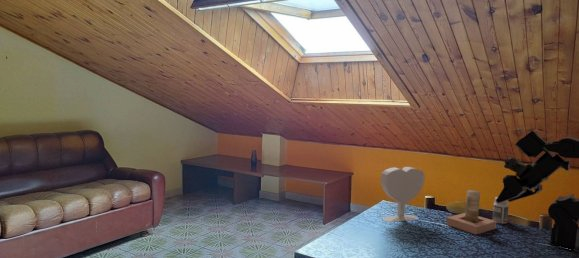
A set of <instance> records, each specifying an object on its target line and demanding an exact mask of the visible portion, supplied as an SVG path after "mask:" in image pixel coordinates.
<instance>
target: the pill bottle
mask: <svg viewBox="0 0 579 258" xmlns="http://www.w3.org/2000/svg"><path fill="white" fill-rule="evenodd" d="M497 198H498V196H495V197H494V202H493V207H492V219H491V220H494V221H496V224H507V223H508V218H509V204H508V202H509V201H508V200H506V201H503V202H500V203H498V202H497V201H496V199H497Z"/></svg>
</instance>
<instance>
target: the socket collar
mask: <svg viewBox="0 0 579 258" xmlns="http://www.w3.org/2000/svg"><path fill="white" fill-rule="evenodd" d="M446 225H447V226H450V227H452V228H456V229H459V230H462V231H465V232H468V233H471V234H474V235H480V234H483V233H486V232H489V231H492V230H495V229H497V223H496V221H494V220H492V219H489V218H486V217H483V216H479V215H478V222H477V223H472V222H468V221H465V213H462V214H455V215H452V216H447V217H446Z"/></svg>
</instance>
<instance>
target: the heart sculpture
mask: <svg viewBox="0 0 579 258" xmlns="http://www.w3.org/2000/svg"><path fill="white" fill-rule="evenodd" d="M425 177H426V176H425V173H424V171H423V170H422V169H421V170H420V169H419V168H415V167H412V166H404V167H402V168H398V167H394V166H393V167H389V168H387V169H384V170H383V171H382V172H381V174H380V185H381V188H382V190H383V192H384V193H385V194H386V196H388V197H389V198H390V199H392V200H394V201H395V202H397V215H391V216H384V217H383V218H382V220H383V221H386V222H389V223H394V222H403V221H413V220H414V221H415V220H419V217H418V216H416V215H412V214H405V207H406V205H407V204H408V203H409V202H411V201H412V200H413V199H415V198H416V197H417V195H419V194H420V192H421V191H422V189H423V188H424V183H425Z"/></svg>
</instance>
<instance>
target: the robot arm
mask: <svg viewBox="0 0 579 258" xmlns="http://www.w3.org/2000/svg"><path fill="white" fill-rule="evenodd" d="M514 146H515V147H517V149H519V150H520V151H521V152H522V153H523V154H524V155H525V156H527V157H528V158H533V159H536V158H537V157H538V156H539V155H541V156H540V157H538V158H537V159H536V160H535V161H534V162H532V163H528V164H525V163H523V162H521V161H520V160H518V159H517V158H514V157H507V158H506V160H504V165H503V168H505V169H508V170H510V171H512V172H514V173H515V174H514V175H513V174H506V175H505V176H504V177H503V178H502V183H503V188H502V190H501V191H500V193H499V195H498V196H497V197H498V198H497V199H496V201H497V202H498V203H500V202H503V201H506V200H508V202H514V201H517V200H520V199H524V198H528V197H530V196H535V195H537V194H539V193H540V192H542V191H543V185H542V183H543V182H544V181H548V180H549V179H550V178H549V177H550V176H552V175H553V174H554V173H555V172H557V171H558V170H559V169H560V168H563V169H564V170H565V171H569V170H570V168H571V167H570V163H571V160H570V159H579V138H577V137H574V136H565V137H563V138H561V139H559V140H558V141H557V140H555V141H548V142H547V140H545V139H544V138H542V137H541V136H540V135H539V133H537V131H535V130H531V131H530V132H529V133H527V134H526V135H524V136H522V137H521V138H520V139H519V140H518V141H516V143H515V144H514ZM543 152H544V153H543ZM542 153H543V154H542ZM554 153H556V154H554ZM565 158H567V159H569V160H567V159H566V160H565ZM533 190H534V191H533ZM547 213H548V216H549V217H550V218H551V219H552V220H553V222H554V223H553V226H552V227H551V229H550V241H549V242H548V244H549V243H551V244H554V245H557V246H561V247H564V248H568V249H571V250H574V249H577V248H579V198H576V197H575V194H574V193H572V194H568V195H565V196H561V195H560V196H558V197H557V199H554V201H552V202H551V203H550V205H549V207H548V209H547ZM554 245H553V246H554ZM557 246H556V247H557ZM564 248H563V249H564ZM577 250H578V249H577Z"/></svg>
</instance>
